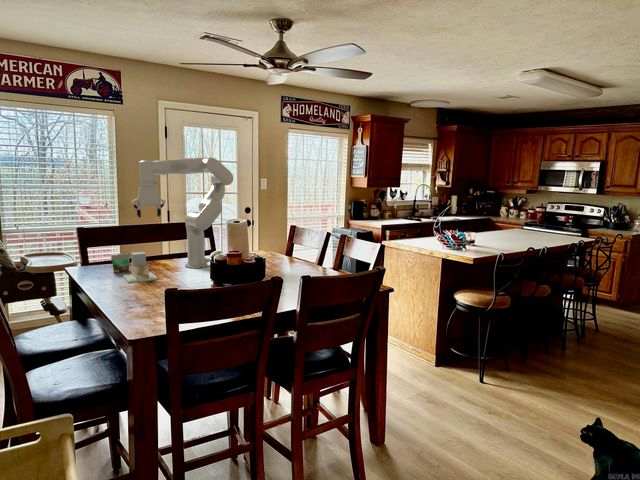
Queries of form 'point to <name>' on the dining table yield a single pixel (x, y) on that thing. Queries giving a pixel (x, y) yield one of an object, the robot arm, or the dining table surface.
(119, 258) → the food container
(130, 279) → the baseplate
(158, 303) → the dining table surface
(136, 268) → the beech block
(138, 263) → the grey cube
